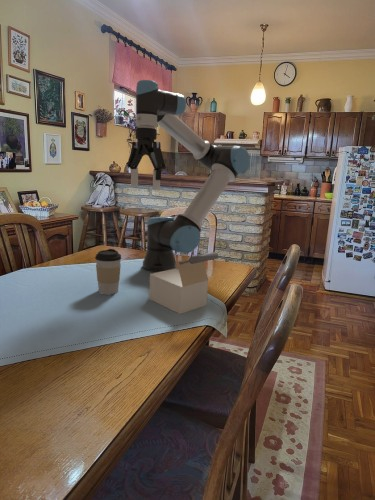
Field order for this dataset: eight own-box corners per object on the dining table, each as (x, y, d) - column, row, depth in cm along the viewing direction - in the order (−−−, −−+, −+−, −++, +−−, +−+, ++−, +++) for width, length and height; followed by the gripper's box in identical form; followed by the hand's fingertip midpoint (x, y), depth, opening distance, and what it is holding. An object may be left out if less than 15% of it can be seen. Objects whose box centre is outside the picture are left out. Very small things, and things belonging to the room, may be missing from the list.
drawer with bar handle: (201, 255, 118) (217, 251, 113) (207, 280, 118) (223, 277, 112) (176, 260, 111) (192, 256, 106) (182, 286, 111) (198, 283, 105)
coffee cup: (115, 297, 124) (115, 255, 120) (91, 293, 125) (90, 252, 122) (124, 288, 132) (125, 249, 129) (102, 285, 134) (101, 247, 131)
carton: (174, 291, 132) (175, 267, 130) (206, 305, 121) (208, 280, 118) (148, 298, 124) (148, 273, 122) (180, 314, 112) (181, 287, 110)
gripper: (118, 128, 133) (118, 185, 138) (159, 125, 116) (158, 191, 121) (134, 130, 139) (134, 185, 144) (177, 127, 121) (174, 190, 126)
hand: (145, 188), depth 132 cm, fingers open, 13 cm apart
